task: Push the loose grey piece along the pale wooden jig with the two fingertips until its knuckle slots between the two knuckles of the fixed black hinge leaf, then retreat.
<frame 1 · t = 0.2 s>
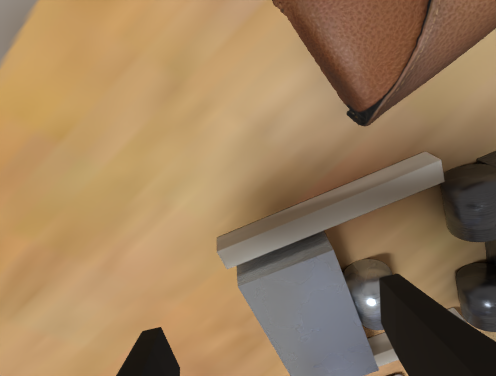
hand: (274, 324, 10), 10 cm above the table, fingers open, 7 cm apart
grey piece: (305, 299, 24), on the table
jig: (350, 283, 23), on the table
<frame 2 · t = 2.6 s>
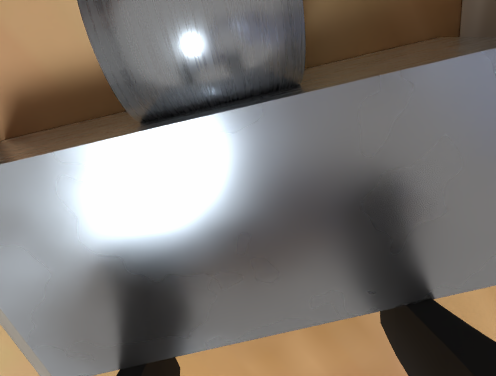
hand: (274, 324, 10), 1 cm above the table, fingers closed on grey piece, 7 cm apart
grey piece: (243, 187, 10), on the table, touching gripper
jig: (227, 106, 9), on the table
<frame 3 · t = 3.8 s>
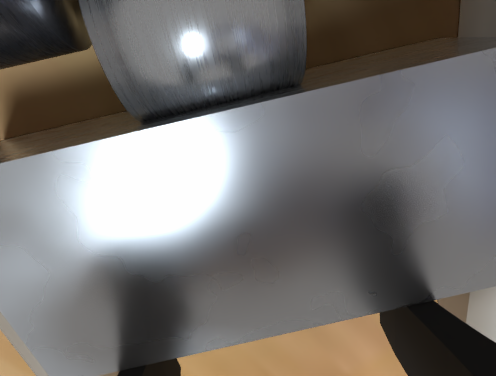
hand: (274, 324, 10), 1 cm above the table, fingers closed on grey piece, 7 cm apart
grey piece: (243, 187, 10), on the table, touching gripper
jig: (259, 249, 11), on the table
when the fingers open (1 cm above the table, at t = 4.9 s): grey piece stays where it is, on the table.
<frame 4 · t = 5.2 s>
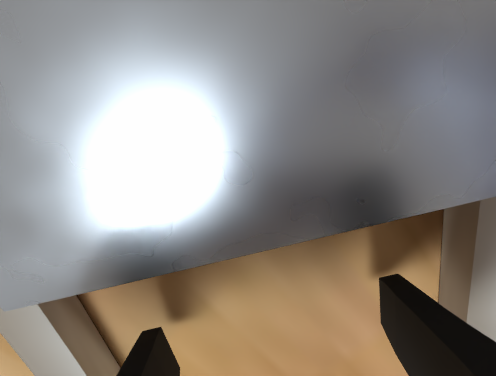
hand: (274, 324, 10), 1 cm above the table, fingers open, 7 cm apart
grey piece: (218, 101, 9), on the table
jig: (250, 221, 10), on the table
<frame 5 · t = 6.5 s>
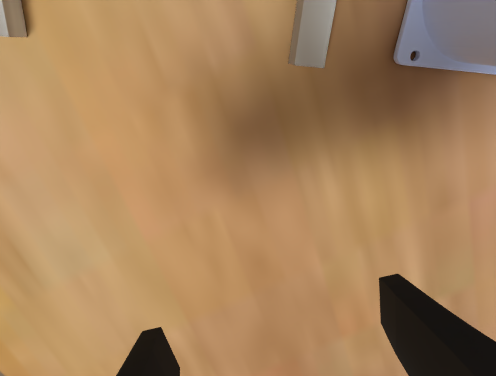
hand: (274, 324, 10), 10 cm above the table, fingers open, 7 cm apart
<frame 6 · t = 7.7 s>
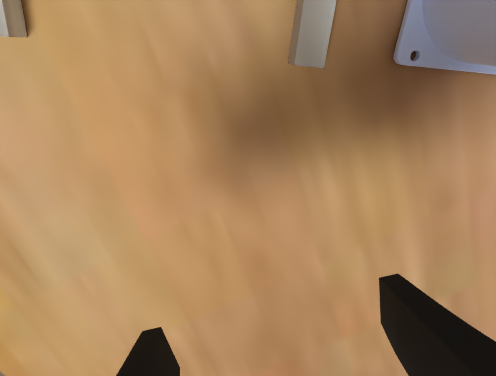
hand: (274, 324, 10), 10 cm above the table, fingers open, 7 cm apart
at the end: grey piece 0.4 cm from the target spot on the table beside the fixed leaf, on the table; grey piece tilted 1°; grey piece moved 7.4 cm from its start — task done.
